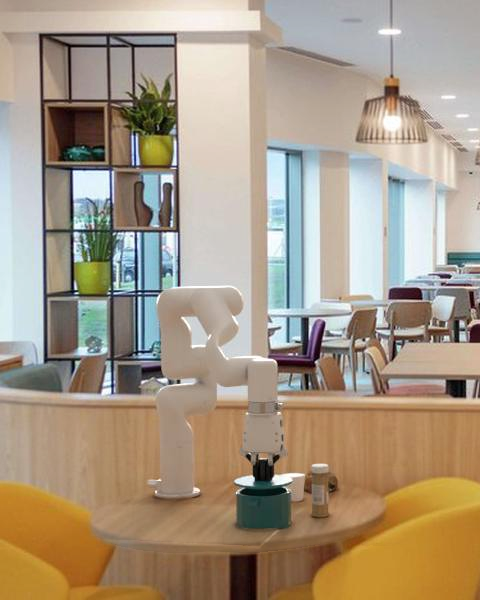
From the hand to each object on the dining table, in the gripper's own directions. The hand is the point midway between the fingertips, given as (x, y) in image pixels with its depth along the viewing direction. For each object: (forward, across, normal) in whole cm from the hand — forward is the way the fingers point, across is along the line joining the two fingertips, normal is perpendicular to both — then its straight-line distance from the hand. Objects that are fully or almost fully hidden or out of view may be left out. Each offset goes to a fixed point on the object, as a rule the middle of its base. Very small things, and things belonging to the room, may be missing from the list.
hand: (263, 479), depth 270 cm
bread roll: (+12, -4, -42) cm, 44 cm away
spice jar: (+12, -12, -11) cm, 20 cm away
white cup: (+12, 0, -28) cm, 30 cm away
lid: (+1, 0, 0) cm, 1 cm away
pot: (+11, 0, 0) cm, 11 cm away
